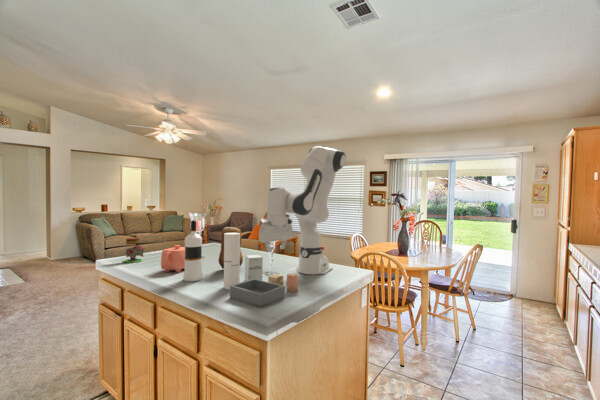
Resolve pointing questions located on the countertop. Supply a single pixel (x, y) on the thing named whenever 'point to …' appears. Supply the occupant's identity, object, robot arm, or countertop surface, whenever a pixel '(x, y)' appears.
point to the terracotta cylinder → (292, 282)
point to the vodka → (193, 256)
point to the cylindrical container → (231, 259)
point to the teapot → (173, 258)
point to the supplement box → (253, 267)
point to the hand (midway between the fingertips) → (276, 250)
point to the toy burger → (133, 250)
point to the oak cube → (276, 279)
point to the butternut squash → (221, 256)
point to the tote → (257, 292)
